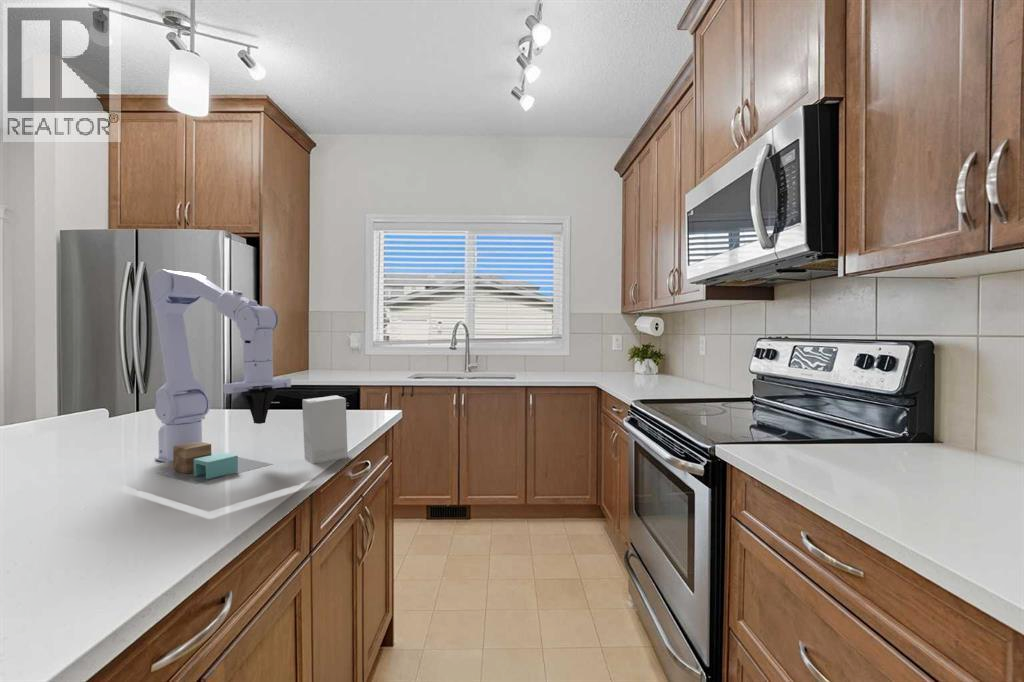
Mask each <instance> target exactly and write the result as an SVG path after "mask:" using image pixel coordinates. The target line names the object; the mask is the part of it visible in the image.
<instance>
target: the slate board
mask: <svg viewBox="0 0 1024 682" xmlns="http://www.w3.org/2000/svg"><path fill="white" fill-rule="evenodd" d="M271 465H274V464H273V463H269V462H265V461H259V460H256V459H255V460H254V459H250V458H245V457H241V456H240V457H239V456H238V472H234V473H230V474H226V475H222V476H218V477H214V478H210V479H206V474H203V475H199V476H194V472H190V473H183V472H179V471H175V470H174V468H172V469H169V470H164V471H159V472H156V475H157V474H158V475H161V476H165V477H169V478H173V479H175V480H180V481H184V482H186V483H191V484H194V485H198V484H202V483H205V482H209V481H214V480H218V479H221V478H222V479H223V478H225V477H230V476H234V475H237V474H242V473H244V472H249V471H252V470H253V471H254V470H256V469H262V468H263V467H268V466H271Z"/></svg>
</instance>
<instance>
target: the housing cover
mask: <svg viewBox="0 0 1024 682" xmlns="http://www.w3.org/2000/svg"><path fill="white" fill-rule="evenodd" d="M238 457H239V456H238V455H236V454H232V453H228V452H221V453H216V454H211V455H210V456H206V457H201V458H197V459H194V476H199V475H203V474H206V479H210V478H214V477H218V476H222V475H226V474H230V473H234V472H238Z"/></svg>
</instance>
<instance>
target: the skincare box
mask: <svg viewBox="0 0 1024 682" xmlns="http://www.w3.org/2000/svg"><path fill="white" fill-rule="evenodd" d="M301 404H302V405H301V406H302V424H303V426H302V427H303V430H302V431H303V448H304V449H303V450H304V460H306V461H308V462H309V463H311V464H314V465H315V464H319V463H320V464H321V463H326V462H331V461H338V460H341V459H348V457H349V455H348V434H347V433H348V429H347V428H348V427H347V426H348V425H347V398H346V397H343V396H339V395H328V396H327V395H326V396H323V397H313V398H306V399H305V398H303V399H302V403H301Z"/></svg>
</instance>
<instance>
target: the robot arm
mask: <svg viewBox="0 0 1024 682" xmlns="http://www.w3.org/2000/svg"><path fill="white" fill-rule="evenodd" d="M148 286H149V292H150V298H151V304H152V307H153V308H154V313H155V320H156V326H157V331H158V338H159V344H160V350H161V355H162V362H163V368H164V374H165V375H164V376H165V379H166V380H165V381H166V382H165V383H164V384H163V385H162V386H161V387H159V388H158V390H156V392H155V399H156V400H155V401H156V402H155V405H154V410H155V416H156V417H157V419H158V420H159V421H160V422H161V424H162V425H161V426H160V428H159V430H158V433H157V434H158V437H157V438H158V456H156V457H154V460H156V461H159V462H164V463H168V462H173V446H177V445H182V444H188V443H193V442H203V433H202V432H203V426H202V425H203V423H202V421H203V420H205V417H206V415H207V414H208V412H210V408H211V400H210V398H209V396H208V394H207V392H206V388H205V385H204V384H203V383H202V382H200V381H199V380H196V379H195V378H194V374H193V368H192V361H191V355H190V350H189V343H188V338H187V333H186V327H185V320H184V313H185V312H186V311H187V310H189V309H191V308H192V307H193V306H194V305H195V304H197V303H198V302H199V301H200V300H201V299H205V300H206V301H208V302H211V303H212V304H214V305H216V310H217V312H219V313H220V314H221V315H224V316H225V317H226V318H228V319H230V320H232V321H234V322H235V323H236V326H237V328H238V330H239V333H240V338H241V340H242V341H243V342H242V343H243V346H242V347H243V349H242V351H243V352H242V353H243V381H235V382H231V383H223V384H222V387H223V388H222V389H223V390H222V392H223V394H228V395H229V394H230V395H231V394H235V393H241V396H242V398H243V399H244V400H245V403H246V405H247V406H248V409H249V412H250V413H251V416H252V420H253V424H259V425H261V424H266V419H267V416H268V412H269V410H270V409H269V408H270V406H271V403H272V402H273V400H274V399H275V396H276V395H277V388H291V387H292V384H291V383H292V378H290V377H288V378H287V377H283V378H282V377H281V378H274V355H273V354H274V351H273V350H274V348H273V345H274V344H273V341H274V340H273V331H274V330H276V329H277V327H278V324H279V315H278V312H277V310H276V309H274V308H273V307H272V306H271V305H263V306H262V305H260V304H258V301H257V300H255V299H250V298H248V297H247V296H244V295H243V294H244V292H243V291H240V290H237V289H236V290H235V289H234V290H228V291H225V290H224V289H222V288H221V287H219V286H218V285H217V284H215V283H214V282H211V281H210V280H209V278H208V276H205V275H202V274H201V273H199V272H185V271H179V270H178V271H176V270H167V269H166V268H165V269H164V268H159V269H157V270H156V271H154V273H153V275H152V276H151V279H150V280H149V282H148Z"/></svg>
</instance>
